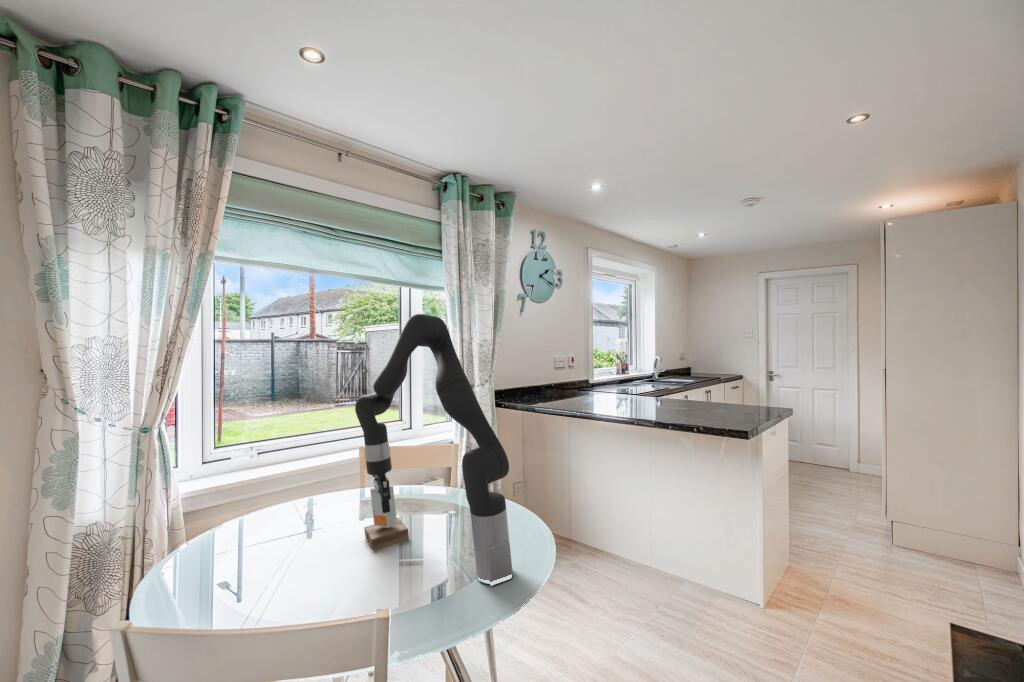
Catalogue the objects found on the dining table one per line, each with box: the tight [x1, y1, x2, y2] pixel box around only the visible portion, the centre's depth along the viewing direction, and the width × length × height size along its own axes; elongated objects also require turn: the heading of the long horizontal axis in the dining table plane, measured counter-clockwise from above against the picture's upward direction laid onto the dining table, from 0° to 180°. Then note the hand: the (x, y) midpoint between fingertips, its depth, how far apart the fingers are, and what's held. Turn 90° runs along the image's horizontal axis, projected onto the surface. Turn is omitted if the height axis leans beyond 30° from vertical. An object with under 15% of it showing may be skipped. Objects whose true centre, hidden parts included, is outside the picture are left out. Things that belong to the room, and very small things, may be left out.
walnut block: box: [364, 517, 410, 552], centre depth 144 cm, size 11×11×4 cm
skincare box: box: [370, 485, 398, 528], centre depth 144 cm, size 6×4×12 cm
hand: (383, 508), depth 144 cm, fingers open, 7 cm apart
